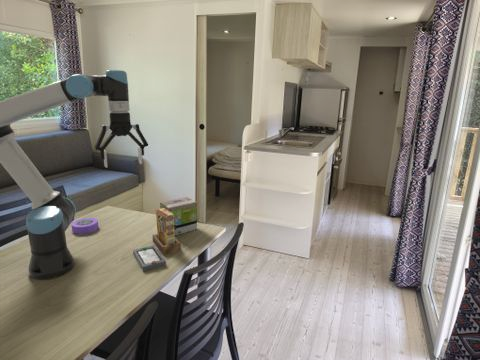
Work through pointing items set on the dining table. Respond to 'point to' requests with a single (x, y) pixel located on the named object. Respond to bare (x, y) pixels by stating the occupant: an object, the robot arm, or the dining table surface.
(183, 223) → the tea box
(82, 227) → the masking tape
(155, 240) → the trough
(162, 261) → the base
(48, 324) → the dining table surface
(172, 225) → the candy box
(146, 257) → the grey rectangular panel
